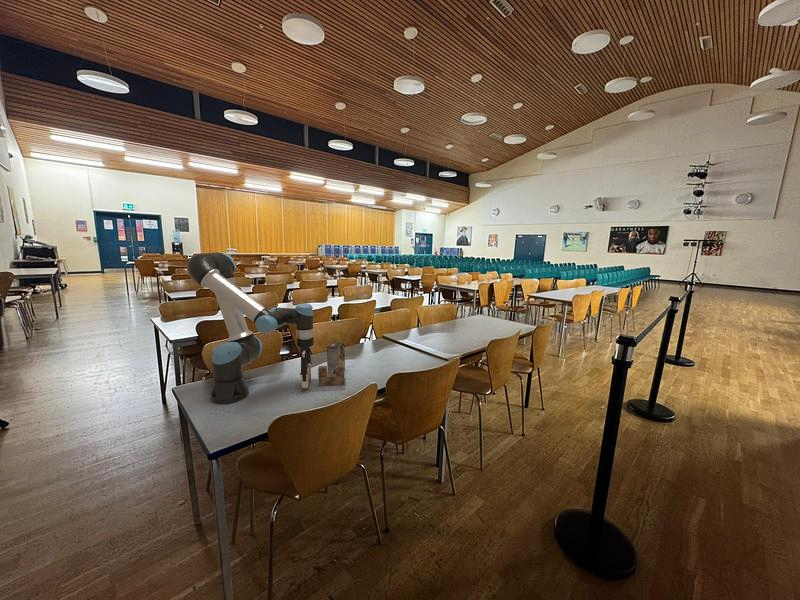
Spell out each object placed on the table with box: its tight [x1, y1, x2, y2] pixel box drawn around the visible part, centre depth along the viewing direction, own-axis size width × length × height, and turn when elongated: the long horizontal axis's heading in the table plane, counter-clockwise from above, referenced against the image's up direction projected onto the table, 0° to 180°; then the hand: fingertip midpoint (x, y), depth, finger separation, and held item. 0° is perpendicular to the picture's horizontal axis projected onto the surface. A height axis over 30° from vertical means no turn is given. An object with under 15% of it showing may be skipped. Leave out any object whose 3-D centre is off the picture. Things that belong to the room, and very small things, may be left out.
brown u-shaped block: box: [317, 365, 346, 386], centre depth 160 cm, size 12×3×9 cm, turn 98°
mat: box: [300, 377, 347, 393], centre depth 160 cm, size 20×14×1 cm
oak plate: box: [300, 363, 312, 390], centre depth 158 cm, size 10×3×9 cm, turn 8°
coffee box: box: [326, 341, 346, 375], centre depth 174 cm, size 9×6×16 cm
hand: (306, 382), depth 158 cm, fingers closed on oak plate, 10 cm apart
